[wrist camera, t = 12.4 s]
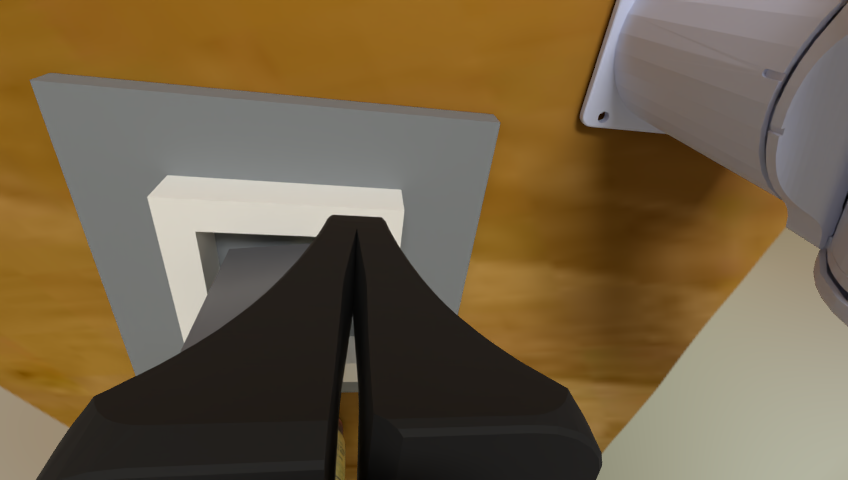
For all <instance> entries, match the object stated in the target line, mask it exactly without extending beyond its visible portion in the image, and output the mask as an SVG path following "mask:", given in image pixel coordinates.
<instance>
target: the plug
mask: <svg viewBox="0 0 848 480" xmlns="http://www.w3.org/2000/svg"><path fill="white" fill-rule="evenodd" d="M309 245H310V244H297V245H281V246H265V247H249V248H234V249H229V250H228V252H227V254H226V257H225V259H224V261H223V263H222V265H221V267H220V269H219V271H218V273H217V275H216V278H215V280H214V282H213V284H212V286H211V288H210V290H209V292H208V294H207V296H206V298H205V301H204V303H203V305H202V307H201V309H200V311H199V313H198V315H197V317H196V319H195V322H194V324H193V326H192V328H191V330H190V332H189V334H188V336H187V338H186V340H185V343H184V345H183V347H182V349H181V351H180V352H182V351H184V350H186V349H187V348H189V347H191V346H193V345H194V344H196V343H198V342H199V341H201V340H202V339H204V338H206V337H207V336H209V335H210V334H212V333H214V332H215V331H217V330H218V329H220V328H221V327H222V326H224V325H225V324H226V323H228V322H229V321H231V320H232V319H233V318H235V317H236V316H237V315H239V314H240V313H241V312H243V311H244V310H245V309H247V308H248V307H249V306H250V305H252V304H253V303H254V302H255V301H256V300H258V299H259V298H260V297H261V296H262V295H263V294H265V293H266V292H267V291H268V290H269V289H270V288H271V287H272V286H273V285H274V284H275V283H276V282H277V281H278V280H279V279H280V278H281V277H282V276H283V275H284V274H285V273H286V272H287V271H288V270H289V269H290V268H291V267H292V266H293V265H294V264H295V262H296V261H297V260H298V259H299V258H300V257H301V255H302V254H303V253H304V252H305V250H306V249H307V248H308V247H309Z"/></svg>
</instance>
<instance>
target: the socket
mask: <svg viewBox="0 0 848 480" xmlns="http://www.w3.org/2000/svg"><path fill="white" fill-rule="evenodd" d="M30 82H31V85H32V88H33V91H34V93H35V96H36V99H37V102H38V104H39V107H40V110H41V113H42V116H43V118H44V121H45V124H46V127H47V130H48V132H49V135H50V138H51V141H52V143H53V146H54V149H55V152H56V155H57V157H58V160H59V163H60V166H61V169H62V171H63V174H64V177H65V180H66V182H67V185H68V188H69V191H70V194H71V196H72V199H73V202H74V205H75V208H76V210H77V213H78V216H79V219H80V221H81V224H82V227H83V230H84V233H85V235H86V238H87V241H88V244H89V247H90V249H91V252H92V255H93V258H94V260H95V263H96V266H97V269H98V272H99V274H100V277H101V280H102V283H103V286H104V288H105V291H106V294H107V297H108V299H109V302H110V305H111V308H112V311H113V313H114V316H115V319H116V322H117V325H118V327H119V330H120V333H121V336H122V338H123V341H124V344H125V347H126V350H127V352H128V355H129V358H130V361H131V364H132V366H133V369H134V372H135V375H136V376H137V375H139V374H141V373H143V372H145V371H147V370H149V369H151V368H153V367H155V366H157V365H159V364H161V363H163V362H165V361H166V360H168V359H170V358H172V357H174V356H175V355H177V354H179V353H181V352H180V351H181V349H182V347H183V345H184V343H185V340H186V338H187V336H188V334H189V332H190V330H191V328H192V326H193V324H194V322H195V319H196V317H197V315H198V313H199V311H200V309H201V307H202V305H203V303H204V301H205V298H206V296H207V294H208V292H209V290H210V288H211V286H212V284H213V282H214V280H215V278H216V275H217V273H218V271H219V269H220V267H221V265H222V263H223V261H224V259H225V257H226V254H227V252H228V250H229V249H234V248H249V247H265V246H281V245H297V244H311V243H312V242H313V240H314V239H315V238H316V236H317V235H318V233H319V232H320V230H321V229H322V227H323V226H324V224H325V222H326V220H327V218H329V217H330V216H331V215H349V216H369V217H382V218H383V219H384V220H385V221H386V223H387V226H388V228H389V230H390V232H391V233H392V235H393V237H394V239H395V240H396V242H397V244H398V245H399V247H400V248H401V250H402V252H403V253H404V254H405V256H406V257H407V259H408V260H409V262H410V263H411V265H412V266H413V267H414V269H415V270H416V271H417V273H418V274H419V275H420V276H421V278H422V279H423V280H424V281H425V282H426V284H427V285H428V286H429V287H430V288H431V289H432V291H433V292H434V293H435V294H436V295H437V296H438V297H439V298H440V299H441V300H442V301H443V302H444V303H445V304H446V305H447V306H448V307H449V308H450V309H451V310H452V311H453V312H454V313H455V314H457V315H458V311H459V306H460V302H461V297H462V293H463V288H464V284H465V279H466V275H467V270H468V266H469V261H470V257H471V252H472V248H473V243H474V239H475V235H476V230H477V226H478V221H479V217H480V212H481V208H482V203H483V199H484V194H485V190H486V185H487V181H488V176H489V172H490V167H491V163H492V158H493V154H494V149H495V145H496V140H497V136H498V131H499V127H500V122H499V121H498V119H497V118H496V117H495V116H494V115H493V114H483V113H472V112H461V111H451V110H440V109H429V108H419V107H408V106H397V105H387V104H376V103H366V102H355V101H344V100H334V99H323V98H312V97H302V96H291V95H280V94H270V93H259V92H248V91H238V90H227V89H216V88H206V87H195V86H184V85H174V84H163V83H152V82H142V81H131V80H120V79H110V78H99V77H88V76H78V75H67V74H56V73H48V74H46V75H43V76H40V77H37V78H34V79H31V80H30ZM341 392H358V379H357V365H356V352H355V338H354V324H353V317H352V324H351V330H350V337H349V344H348V350H347V357H346V363H345V370H344V377H343V383H342V390H341Z"/></svg>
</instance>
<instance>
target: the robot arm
mask: <svg viewBox="0 0 848 480" xmlns="http://www.w3.org/2000/svg"><path fill="white" fill-rule="evenodd" d="M602 112H605V116H604V118H603V119H601V120H598V116H599V115H600V114H601V113H602ZM580 120H581V122H582V123H583V124H584V125H586V126H589V127H597V128H608V129H619V130H630V131H641V132H651V133H662V134H668V135H670V136H672V137H673V138H675V139H677V140H678V141H680V142H682V143H684V144H685V145H687V146H689V147H691V148H692V149H694V150H696V151H698V152H699V153H701V154H703V155H705V156H706V157H708V158H710V159H712V160H713V161H715V162H717V163H718V164H720V165H722V166H724V167H725V168H727V169H729V170H731V171H732V172H734V173H736V174H738V175H739V176H741V177H743V178H745V179H746V180H748V181H750V182H752V183H753V184H755V185H757V186H758V187H760V188H762V189H764V190H765V191H767V192H769V193H771V194H772V195H774V196H776V197H778V198H779V199H781V200H783V201H784V202H785V204H786V206H787V210H788V220H787V224H786V227H787V228H788V229H790V230H791V231H793V232H794V233H796V234H798V235H799V236H800V237H802V238H804V239H805V240H807V241H808V242H810V243H811V244H813V245H815V246H816V247H818V248H819V249H820V251H819V253H818V256H817V258H816V261H815V266H814V279H815V285H816V288H817V290H818V292H819V294H820V296H821V298H822V299H823V301H824V302H825V303H826V304H827V306H828V307H829V308H830V310H831V311H832V312H833V313H834V314H835V315H836V316H837V317H838V318H839V319H840V320H842V321H843V322H844V323H845V324H846V325H847V326H848V0H616V3H615V6H614V9H613V12H612V16H611V19H610V22H609V25H608V28H607V31H606V34H605V37H604V41H603V44H602V47H601V50H600V53H599V56H598V59H597V62H596V65H595V69H594V72H593V75H592V78H591V81H590V84H589V87H588V90H587V94H586V97H585V100H584V103H583V106H582V109H581V112H580ZM352 317H353V324H354V338H355V352H356V365H357V379H358V395H359V426H358V468H357V480H596V478H597V476H598V474H599V471H600V469H601V467H602V455H601V451H600V448H599V446H598V444H597V442H596V440H595V438H594V436H593V434H592V432H591V429H590V427H589V425H588V423H587V421H586V419H585V417H584V416H583V414H582V412H581V410H580V409H579V407H578V405H577V404H576V402H575V400H574V399H573V397H572V395H571V393H570V392H569V390H568V388H566V387H564V386H562V385H561V384H559V383H557V382H555V381H554V380H552V379H550V378H548V377H546V376H545V375H543V374H541V373H539V372H538V371H536V370H534V369H532V368H531V367H529V366H527V365H525V364H523V363H522V362H520V361H519V360H517V359H516V358H514V357H513V356H511V355H510V354H508V353H507V352H505V351H504V350H502V349H501V348H499V347H498V346H496V345H495V344H493V343H492V342H490V341H489V340H488V339H486V338H485V337H484V336H482V335H481V334H480V333H478V332H477V331H476V330H475V329H473V328H472V327H471V326H470V325H468V324H467V323H466V322H465V321H464V320H462V319H461V318H460V317H459V316H458V315H457V314H455V313H454V312H453V311H452V310H451V309H450V308H449V307H448V306H447V305H446V304H445V303H444V302H443V301H442V300H441V299H440V298H439V297H438V296H437V295H436V294H435V293H434V292H433V291H432V289H431V288H430V287H429V286H428V285H427V284H426V282H425V281H424V280H423V279H422V278H421V276H420V275H419V274H418V273H417V271H416V270H415V269H414V267H413V266H412V265H411V263H410V262H409V260H408V259H407V257H406V256H405V254H404V253H403V252H402V250H401V248H400V247H399V245H398V244H397V242H396V240H395V239H394V237H393V235H392V233H391V232H390V230H389V228H388V226H387V223H386V221H385V220H384V219H383V218H382V217H369V216H349V215H331V216H330V217H329V218H327V220H326V222H325V224H324V226H323V227H322V229H321V230H320V232H319V233H318V235H317V236H316V238H315V239H314V240H313V242H312V243H311V244H310V245H309V247H308V248H307V249H306V250H305V252H304V253H303V254H302V255H301V257H300V258H299V259H298V260H297V261H296V262H295V264H294V265H293V266H292V267H291V268H290V269H289V270H288V271H287V272H286V273H285V274H284V275H283V276H282V277H281V278H280V279H279V280H278V281H277V282H276V283H275V284H274V285H273V286H272V287H271V288H270V289H269V290H268V291H267V292H266V293H265V294H263V295H262V296H261V297H260V298H259V299H258V300H256V301H255V302H254V303H253V304H252V305H250V306H249V307H248V308H247V309H245V310H244V311H243V312H241V313H240V314H239V315H237V316H236V317H235V318H233V319H232V320H231V321H229V322H228V323H226V324H225V325H224V326H222V327H221V328H220V329H218V330H217V331H215V332H214V333H212V334H210V335H209V336H207V337H206V338H204V339H202V340H201V341H199V342H198V343H196V344H194V345H193V346H191V347H189V348H187V349H186V350H184V351H182V352H181V353H179V354H177V355H175V356H174V357H172V358H170V359H168V360H166V361H165V362H163V363H161V364H159V365H157V366H155V367H153V368H151V369H149V370H147V371H145V372H143V373H141V374H139V375H137V376H135V377H133V378H131V379H129V380H127V381H125V382H123V383H121V384H119V385H117V386H115V387H113V388H111V389H109V390H107V391H105V392H103V393H100V394H98V395H96V396H94V397H93V398H92V400H91V401H90V402H89V404H88V405H87V407H86V408H85V409H84V410H83V412H82V413H81V414H80V415H79V417H78V418H77V419H76V420H75V422H74V423H73V424H72V425H71V427H70V428H69V430H68V431H67V433H66V434H65V436H64V437H63V438H62V440H61V442H60V443H59V444H58V446H57V447H56V449H55V451H54V452H53V454H52V455H51V457H50V459H49V460H48V462H47V463H46V465H45V466H44V468H43V470H42V471H41V473H40V474H39V476H38V477H37V479H36V480H335V478H336V460H337V442H338V424H339V408H340V398H341V390H342V383H343V377H344V370H345V363H346V357H347V350H348V344H349V337H350V330H351V324H352Z"/></svg>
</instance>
